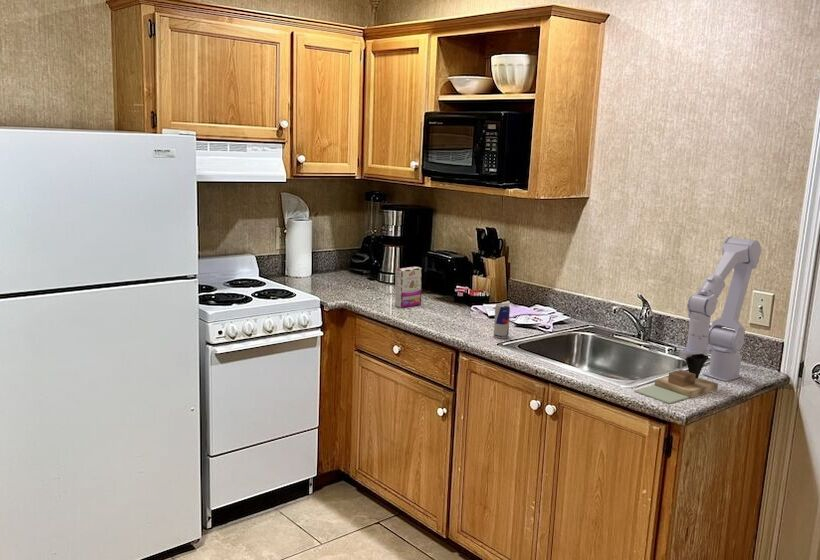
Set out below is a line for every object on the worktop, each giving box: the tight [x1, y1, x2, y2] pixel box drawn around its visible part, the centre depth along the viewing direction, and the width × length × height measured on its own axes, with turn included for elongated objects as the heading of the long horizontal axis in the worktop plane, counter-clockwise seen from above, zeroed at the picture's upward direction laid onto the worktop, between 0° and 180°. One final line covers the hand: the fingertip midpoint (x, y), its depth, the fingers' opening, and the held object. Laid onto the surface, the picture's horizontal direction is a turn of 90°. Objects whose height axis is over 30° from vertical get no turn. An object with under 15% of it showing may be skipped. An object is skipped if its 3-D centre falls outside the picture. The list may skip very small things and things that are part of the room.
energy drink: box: [493, 303, 511, 340], centre depth 274 cm, size 5×5×12 cm
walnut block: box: [667, 369, 696, 387], centre depth 222 cm, size 6×5×3 cm
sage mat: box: [633, 384, 690, 405], centre depth 217 cm, size 9×12×1 cm
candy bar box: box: [394, 266, 423, 309], centre depth 319 cm, size 11×5×16 cm, turn 129°
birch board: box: [654, 375, 719, 399], centre depth 224 cm, size 14×12×2 cm
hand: (693, 377), depth 226 cm, fingers closed
